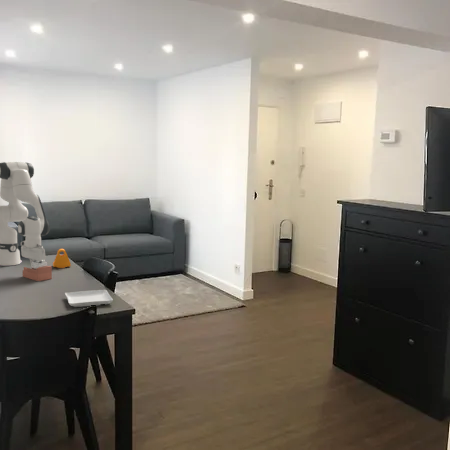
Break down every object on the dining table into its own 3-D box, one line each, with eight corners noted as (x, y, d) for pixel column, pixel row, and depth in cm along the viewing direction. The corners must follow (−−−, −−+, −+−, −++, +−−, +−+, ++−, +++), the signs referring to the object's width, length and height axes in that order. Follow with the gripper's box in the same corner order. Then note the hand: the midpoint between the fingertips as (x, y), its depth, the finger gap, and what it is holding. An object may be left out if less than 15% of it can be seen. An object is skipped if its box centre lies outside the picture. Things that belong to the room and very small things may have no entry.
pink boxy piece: (22, 276, 299) (22, 264, 298) (36, 274, 306) (36, 262, 305) (38, 281, 289) (38, 268, 288) (51, 278, 297) (51, 266, 296)
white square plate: (69, 309, 238) (69, 302, 238) (64, 298, 258) (64, 291, 257) (113, 306, 247) (113, 299, 246) (105, 295, 266) (105, 289, 266)
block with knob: (31, 271, 296) (31, 260, 295) (39, 270, 300) (39, 259, 299) (39, 273, 291) (39, 262, 291) (46, 272, 295) (46, 261, 295)
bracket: (69, 265, 336) (69, 247, 335) (70, 267, 330) (70, 249, 328) (52, 265, 332) (52, 248, 331) (53, 268, 326) (53, 250, 324)
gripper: (48, 245, 294) (48, 268, 295) (28, 240, 306) (28, 263, 308) (38, 246, 289) (38, 269, 290) (19, 241, 301) (19, 264, 303)
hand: (33, 266), depth 299 cm, fingers closed
